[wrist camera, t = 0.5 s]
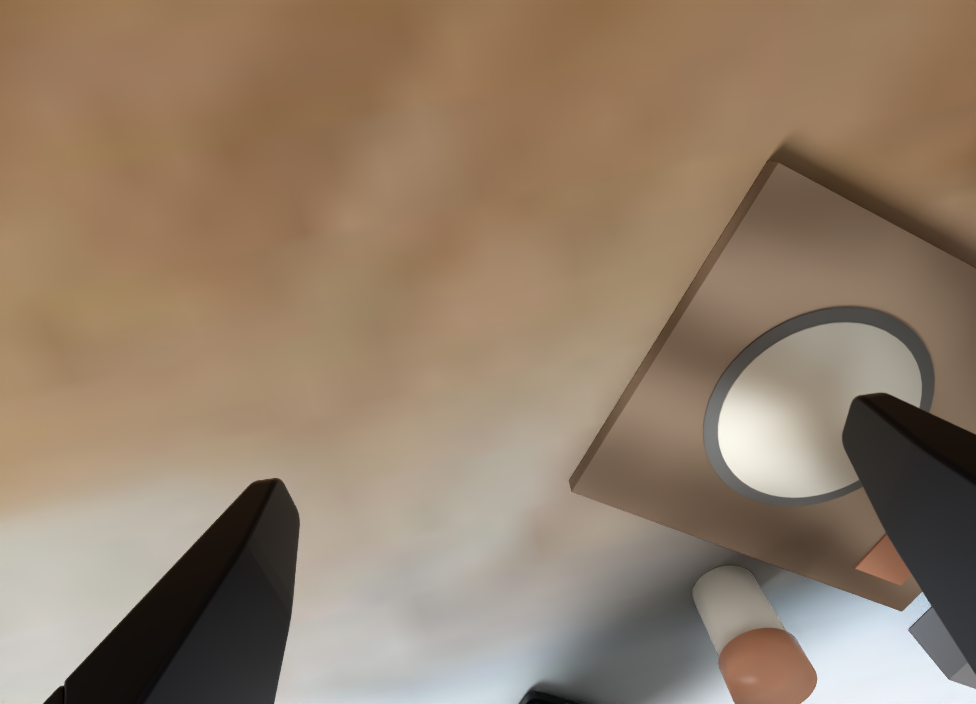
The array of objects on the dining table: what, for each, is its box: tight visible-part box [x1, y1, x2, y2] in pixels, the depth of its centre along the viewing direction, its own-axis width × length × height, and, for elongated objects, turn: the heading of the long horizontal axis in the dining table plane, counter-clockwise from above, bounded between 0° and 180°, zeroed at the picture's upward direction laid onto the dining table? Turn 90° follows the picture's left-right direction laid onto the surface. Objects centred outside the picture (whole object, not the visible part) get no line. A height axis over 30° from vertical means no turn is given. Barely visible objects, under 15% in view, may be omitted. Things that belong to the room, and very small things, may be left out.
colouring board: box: [569, 160, 976, 611], centre depth 26 cm, size 16×20×1 cm
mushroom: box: [692, 565, 817, 704], centre depth 28 cm, size 4×4×6 cm
